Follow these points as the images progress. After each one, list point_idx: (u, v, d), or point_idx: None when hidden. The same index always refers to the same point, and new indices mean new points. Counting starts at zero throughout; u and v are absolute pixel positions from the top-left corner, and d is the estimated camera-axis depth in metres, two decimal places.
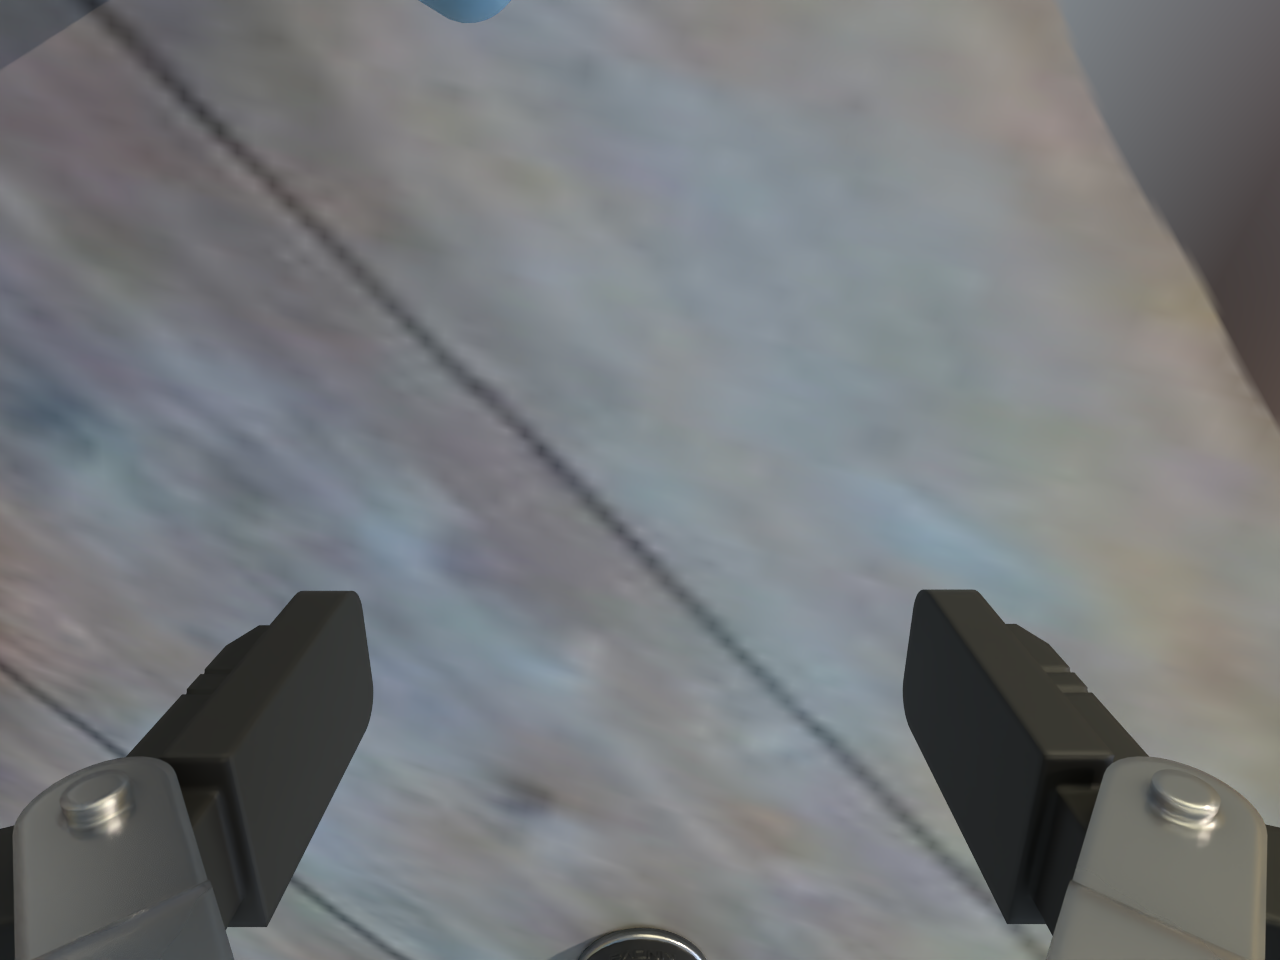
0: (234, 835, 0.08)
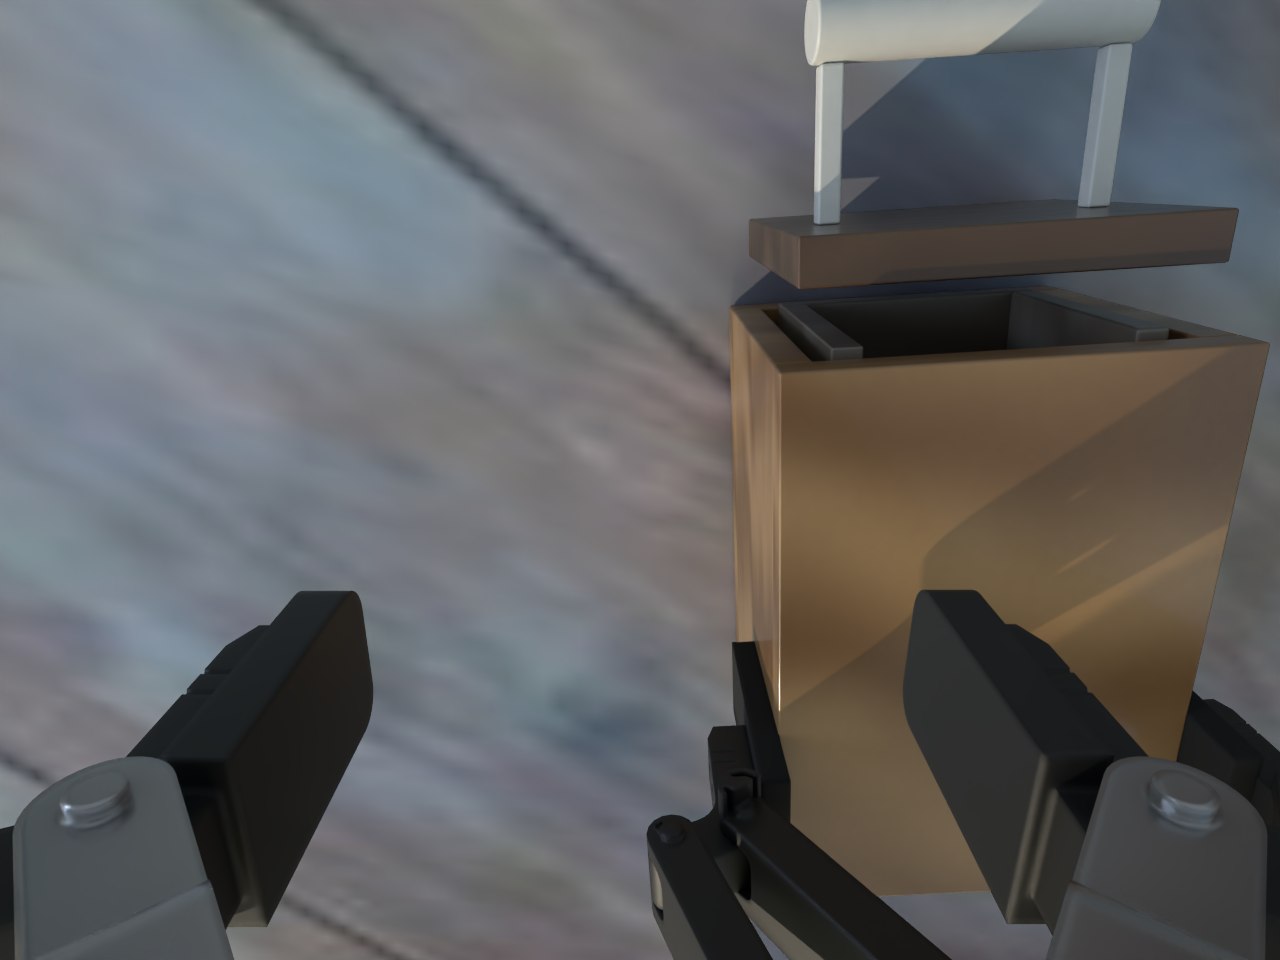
0: (234, 835, 0.08)
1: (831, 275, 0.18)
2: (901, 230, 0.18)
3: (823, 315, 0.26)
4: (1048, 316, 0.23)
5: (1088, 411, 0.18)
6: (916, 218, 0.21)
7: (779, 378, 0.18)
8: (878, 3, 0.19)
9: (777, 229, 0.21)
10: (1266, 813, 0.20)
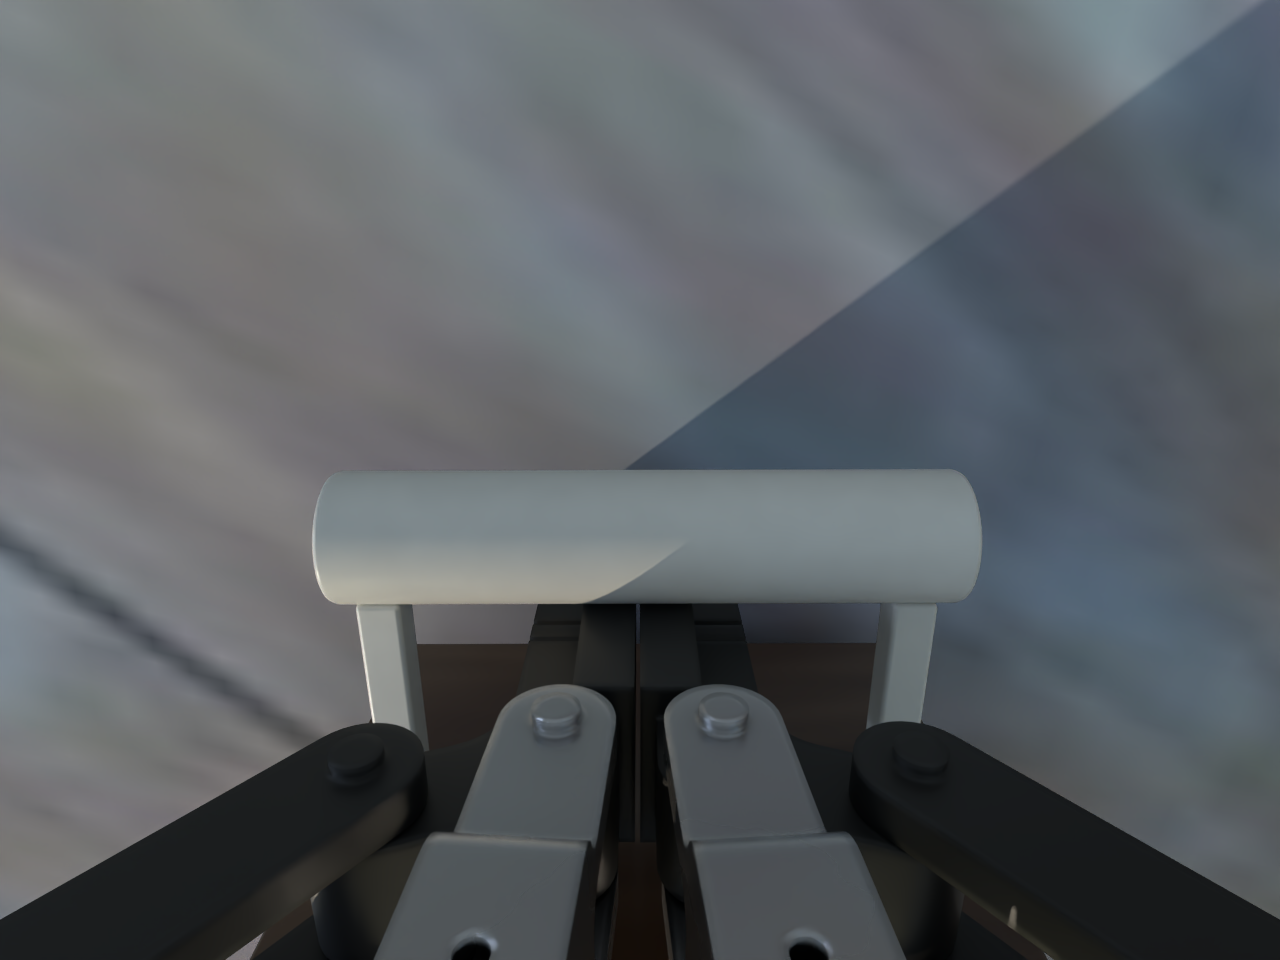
0: (625, 757, 0.09)
1: None
2: None
3: None
4: None
5: None
6: None
7: None
8: (426, 545, 0.09)
9: None
10: None
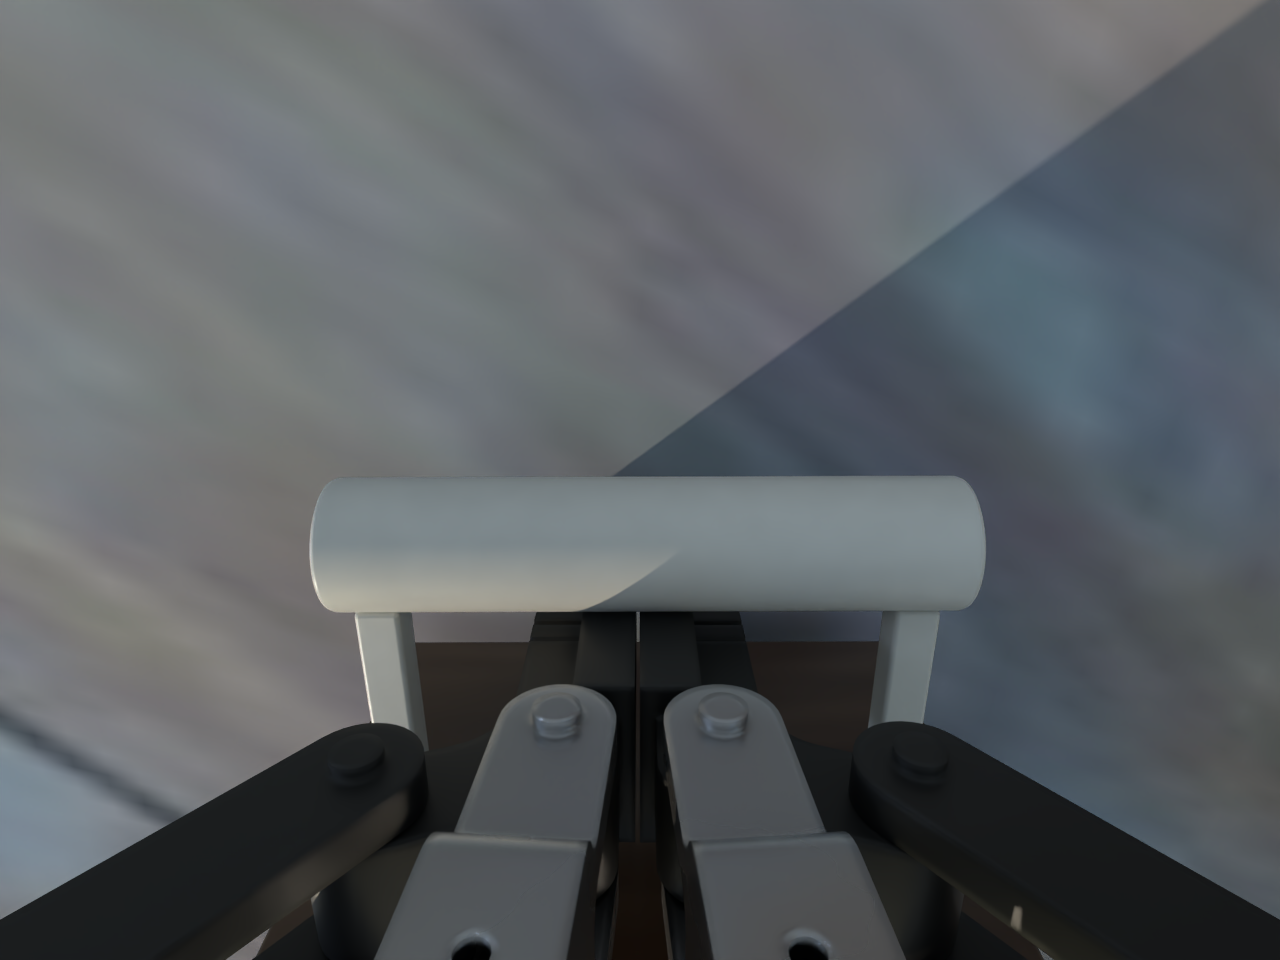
0: (626, 757, 0.09)
1: None
2: None
3: None
4: None
5: None
6: None
7: None
8: (425, 554, 0.09)
9: None
10: None
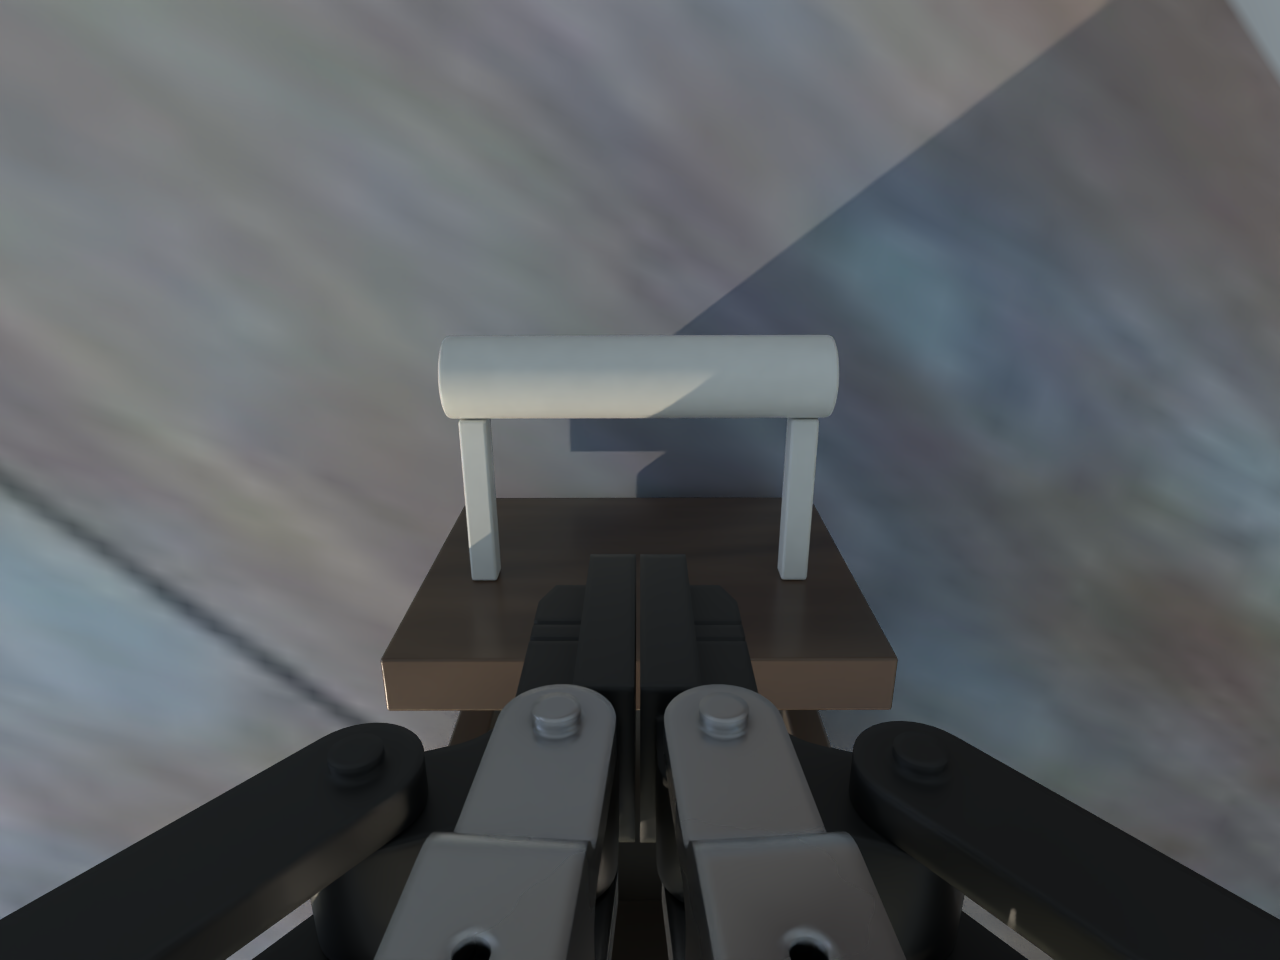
0: (625, 757, 0.09)
1: (423, 699, 0.15)
2: (501, 659, 0.15)
3: None
4: None
5: None
6: None
7: None
8: (507, 372, 0.16)
9: (420, 587, 0.18)
10: None
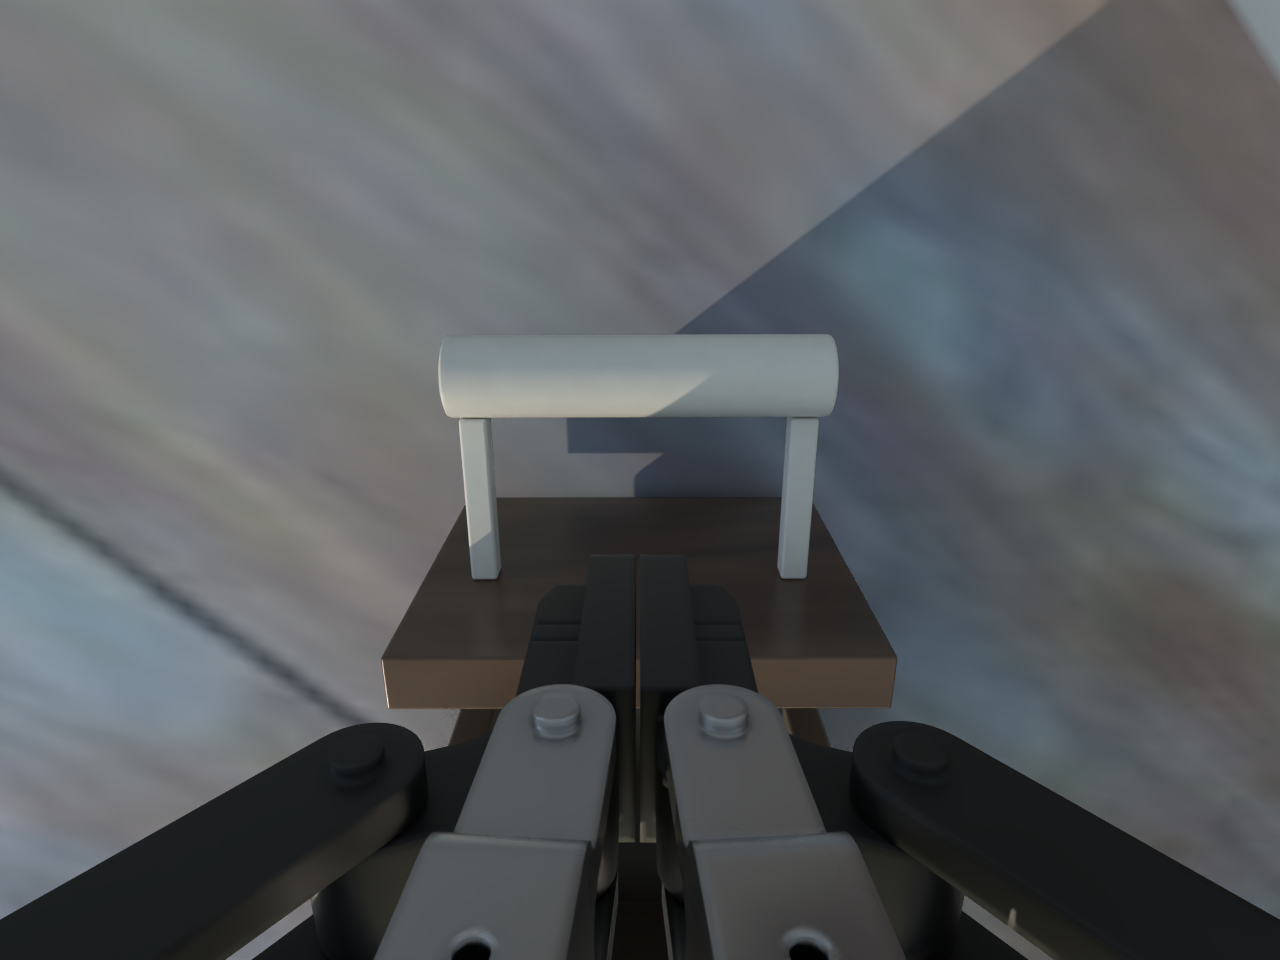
0: (625, 757, 0.09)
1: (424, 698, 0.15)
2: (502, 658, 0.15)
3: None
4: None
5: None
6: None
7: None
8: (507, 372, 0.16)
9: (420, 586, 0.18)
10: None
